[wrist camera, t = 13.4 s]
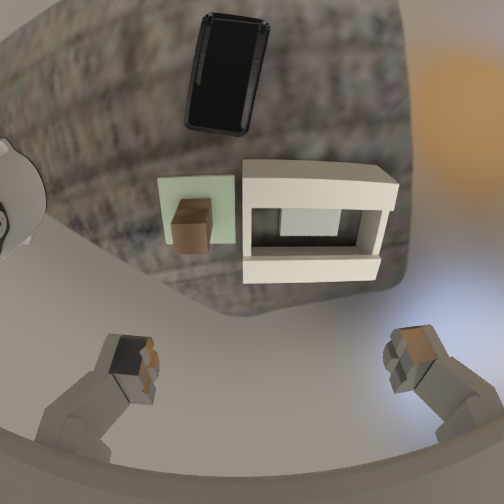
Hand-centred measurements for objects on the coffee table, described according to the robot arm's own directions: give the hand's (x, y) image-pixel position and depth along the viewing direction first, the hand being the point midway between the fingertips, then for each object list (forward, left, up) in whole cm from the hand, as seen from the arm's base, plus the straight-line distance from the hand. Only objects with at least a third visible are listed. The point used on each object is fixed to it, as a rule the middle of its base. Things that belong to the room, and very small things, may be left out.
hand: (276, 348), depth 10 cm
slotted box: (+8, -10, -31) cm, 34 cm away
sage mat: (-7, -10, -31) cm, 33 cm away
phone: (-3, +8, -32) cm, 33 cm away
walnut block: (-7, -10, -30) cm, 33 cm away
